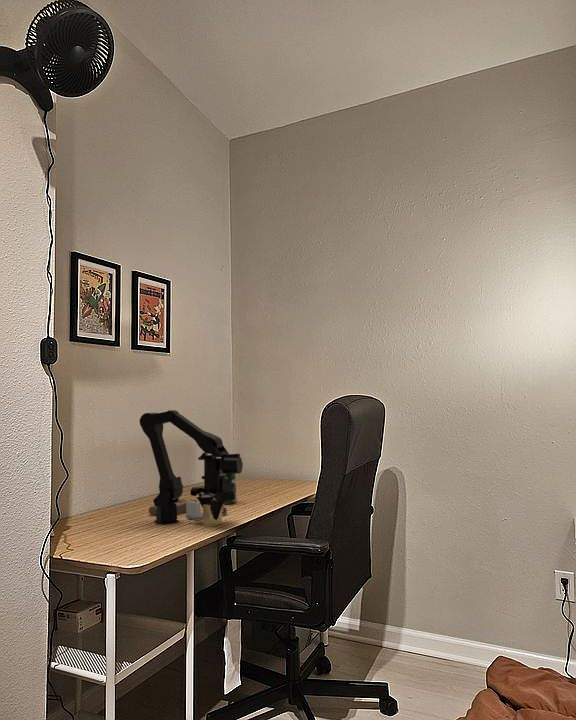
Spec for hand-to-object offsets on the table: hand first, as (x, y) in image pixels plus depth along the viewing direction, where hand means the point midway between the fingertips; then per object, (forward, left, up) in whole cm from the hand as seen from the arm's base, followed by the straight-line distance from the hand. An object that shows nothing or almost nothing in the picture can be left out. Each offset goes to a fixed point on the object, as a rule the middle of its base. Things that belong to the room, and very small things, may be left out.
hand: (212, 518), depth 208 cm
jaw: (+12, +13, -1) cm, 18 cm away
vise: (+7, +13, -2) cm, 15 cm away
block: (0, 0, -2) cm, 2 cm away
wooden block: (+11, +33, 0) cm, 35 cm away
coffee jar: (+29, +31, -2) cm, 43 cm away
